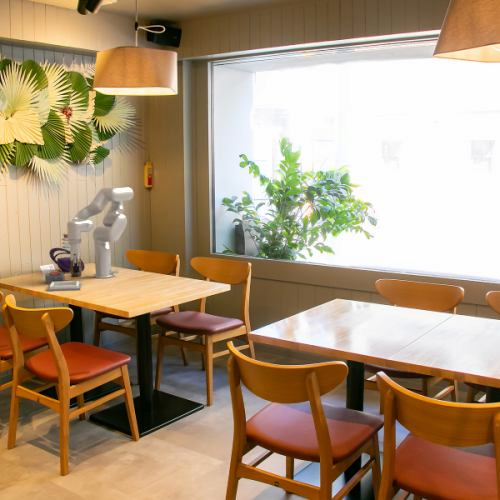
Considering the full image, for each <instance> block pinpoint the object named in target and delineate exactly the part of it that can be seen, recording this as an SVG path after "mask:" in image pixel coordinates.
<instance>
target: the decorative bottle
mask: <svg viewBox="0 0 500 500" xmlns="http://www.w3.org/2000/svg"><path fill="white" fill-rule="evenodd" d="M62 235H63V238H62V239H61V240H62V242H61V244H62V245H63V246H62V248H61V247H53V248H51V249H50V250H49V252H48V253H49V257H50V259H51V260H52V261H53V262H54V264H56V266H57V267H58V269H59V270H60V271H61V272H64V273H71V256H70V257H68V256H65V257H59V258H57V257H58V256H60V255H64V254H66V255H70V250H68V249H70V245H68V233H63V234H62ZM63 241H64V242H63ZM55 252H58V253H56V254H55ZM80 261H81V270H82V272H83V271H84V270H85V263H84V262H83V259H81V258H80Z"/></svg>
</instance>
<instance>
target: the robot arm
mask: <svg viewBox="0 0 500 500" xmlns="http://www.w3.org/2000/svg"><path fill="white" fill-rule="evenodd" d="M133 198H134V190H133V189H132V188H131V187H128V186H114V187H103V188H100V190H99V191H97V194H96V195H95V196H94V198H93V200H91V202H90V203H89V204H87V206H85V207H83V208H82V209H80V210H79V211H78V212H76V214H75V216H74V217H73V219H72V220H69V221H67V223H66V230H67V234H68V241H67V242H68V244H67V246H70V248H69V251H70V254H69V256H70V257H71V261H73V271H74V273H77V272H79V266H78V261H79V258H80V259H81V256H80V255H81V249H80V247H81V245H82V233H88V232H91V231H92V230H93V228H94V223H93V222H92V220H89V218H91V217H94V216H96V215H99V214H101V213H102V212H103V211H104V210H105V208H106V207H107V205H108V204H109V203H110V207H109V209H108V211H107V212H106V214H105V215H104V217H103V219H102V224H103V226H101V225H100V226H97V227H95V228H94V230H93V232H92V239H93V242H94V243H93V244H94V262H95V264H94V265H95V267H94V268H95V273H94V274H93V276H92V277H93V278H97V279H107V278H112V277H114V274H119V270H118V269H117V270H116V269H115V270H114V269H112V259H111V257H112V254H111V253H112V252H111V245H110V243H111V244H112V243H113V244H114V243H116V242H117V241H118V240H119V239H120V237H121V236H122V234H123V233H124V231H125V229H126V227H127V226H128V225H127V223H128V219H127V216H126V215H125V214H124V211H125V208H124V202H127V201H131V200H132V199H133ZM76 260H77V261H76Z"/></svg>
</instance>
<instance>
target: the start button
mask: <svg viewBox="0 0 500 500" xmlns="http://www.w3.org/2000/svg"><path fill="white" fill-rule="evenodd" d="M59 272H60V271H59V270H50V272H49V273H50V275H59Z"/></svg>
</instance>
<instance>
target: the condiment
mask: <svg viewBox="0 0 500 500" xmlns="http://www.w3.org/2000/svg"><path fill="white" fill-rule="evenodd" d="M80 259H81V257H80V258H79V261H78V266H79V272H77V273H74V271H73V261H71V272H70V273H71V274H70V275H68V277H70V278H73V279H75V278H83V277H85V275H83V274H82V272H83V271H82V270H81V261H80ZM76 261H77V260H76Z"/></svg>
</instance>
